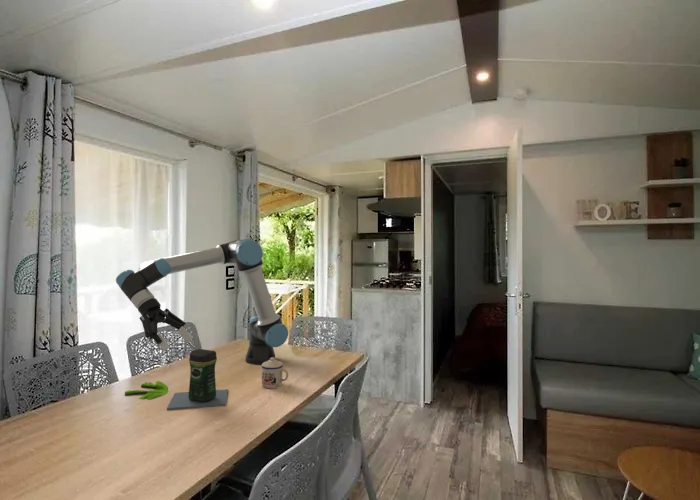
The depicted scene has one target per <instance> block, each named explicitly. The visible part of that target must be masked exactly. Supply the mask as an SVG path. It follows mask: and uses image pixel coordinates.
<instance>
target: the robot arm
mask: <svg viewBox="0 0 700 500" xmlns="http://www.w3.org/2000/svg"><path fill="white" fill-rule="evenodd" d="M263 255H264V253H263V249H262V246H261V245H260V244H259V243H258V242H257V241H255V240H253V239H247V238H245V239H235V240H231V241H229V242H227V243H221V244H217V246H216V247H213V248H209V249H208V248H207V249H202V250H198V251H193V252H187V253H183V254H182V253H181V254H177V255H173V256H167V257H159V258H158V259H157V258H156V259H152V260H145V261H143V262H142V263H140V264H139V268H138V270H136V271H134V270H133V269H127V270H123V271H122V272H121V273H119V274H118V275H117V276H116V278H115V282H116V284H117V286H118V287H119V289H121V291H122V292H123V294H124V295H125V296H126V298H128V300H129V302H131V303H132V304H133V306H134V307H135V308H136V309H137V310H138V313H140V317H139V320H140V322H141V325H142V328H143V332H144V335H145V338H147V339H148V338H149V340H154V341H155V342H156V344H157V345H158V346H159V347H160V348H161V350H162V351H163V352H164V353H165V352H167V350H168V349H170V347H171V345H170V344H169V343H168V342H167V340H166V339H165V338H164V337H163V335H162V334H161V333H159V332H158V324H159V323H160V324H167V325H169V326H171V327H173V328H174V329H176V330H177V332H178V333H179V335H180V336H181V337H182V338H183V340H184V341H185V342H186V343H187V344H189V343H190V342H191V341H192V340H193V339H194V338H193V336H192V335H191V334H190V333H189V331H188V330H187V329H186V327H185V326H186V324H187V323H186V322H185V321H184V320H182V319H181V318H180V317H178V316H177V315H175V314H174V313H173V312H172V311H171V310H169V308H165V309H164V310H162V309H161V306H162V305H161V303H160V302H159V301H158V299H157V298H155V295H154V294H153V293H152V292H151V291H150V290H149V289H148V287H150V286H151V285H153V284H155V283H156V282H159V281H160V280H161V279H163V278H165V277H167V276H168V275H170V274H171V275H172V274H175V273H180V272H185V271H189V270H193V269H198V268H202V267H203V268H204V267H207V266H212V265H215V264H216V265H217V264H221V265H226V264H236V267H237V269H238V272H239V273H242V274H243V277H244V280H245V283H246V287H247V289H248V291H249V292H248V293H249V294H250V298H251V301H252V304H253V308H254V310H255V313H256V315H254V316H251V317H250V319H249V345H248V348H247V352H246V354H245V362H246V363H249V364H252V365H262V364H263V363H264V362H267V361H268V360H270V358H275V359H276V353H275V350H274V348H278V347H281V346H283V345H284V344H285V343H286V342H287V339H288V337H289V329H288V327H287V326H286V325H285V324H284V323H283V322H282V319H281V315H280V314H278V313H276V310H275V307H274V304H273V300H272V299H271V298H272V297H271V294H270V292H269V288H268V285H267V283H266V279H265V276H264V273H263V271H262V267H263V265H264V263H263Z"/></svg>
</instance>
